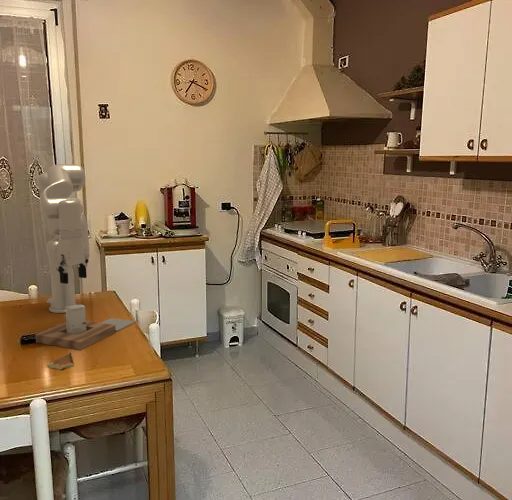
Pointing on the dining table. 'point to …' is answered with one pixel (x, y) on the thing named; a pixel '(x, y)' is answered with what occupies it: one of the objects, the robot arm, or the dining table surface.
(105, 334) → the walnut holder
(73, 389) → the dining table surface
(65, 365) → the shard
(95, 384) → the dining table surface
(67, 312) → the skincare box
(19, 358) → the dining table surface
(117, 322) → the grey mat
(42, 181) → the robot arm
